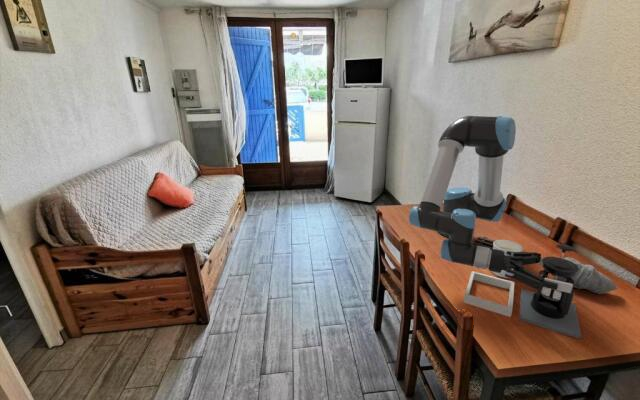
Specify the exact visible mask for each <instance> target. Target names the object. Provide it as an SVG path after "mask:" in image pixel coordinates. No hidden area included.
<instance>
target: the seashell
mask: <svg viewBox="0 0 640 400" xmlns="http://www.w3.org/2000/svg"><path fill="white" fill-rule="evenodd" d="M563 259H566V260H568V261H571V262H573V263H574V264H576V265H577V266H578V268H579V271H578V272H576V274H575V276H574V277H571V278H572V279H573V280H574V282H575V283H574V287H573V288H576V289H579V290H580V289H585V290H587V291H589V292H590V293H595V294H599V295H603V294H606V293H610V292H611V291H616V290H618V287H617V285H616V283H615V282H614V281H613V280H612V279H611V278H609V277H608V276H606V275H604V274H603V273H602V272H600V271H598V270H597V269H596V268H595V267H594V266H593V265H591V264H587V263H585V264H584V263H582V262H581V261H579V260H577V259H575V258H573V257H564V258H563ZM550 275H551V276H552V277H553V278H556V275H553V274H550ZM566 280H567V279H565V278H563V277H560V276H557V281H561V282H566ZM571 284H572V283H571Z"/></svg>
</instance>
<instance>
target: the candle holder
mask: <svg viewBox="0 0 640 400" xmlns="http://www.w3.org/2000/svg"><path fill="white" fill-rule="evenodd" d="M492 243H493V246H492V249H496V250H501V251H504V255H506V253H507V251H511V252H523V250H524V248H523V246H522V245H521V244H519V243H518V242H515V241H512V240H508V239H496V240H495V241H493V242H492ZM505 272H506V271H504V270H502V271H501V273H497V272H493V271H491V273H493V275H495V276H498V277H500V278H504V279H510V278H509V277H506V276H505Z"/></svg>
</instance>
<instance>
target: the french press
mask: <svg viewBox="0 0 640 400" xmlns="http://www.w3.org/2000/svg"><path fill="white" fill-rule="evenodd" d="M556 248H557V249H559V250H561V252H562V253H561V257H558V256H544V258H543V260H542V262H543V266H542V268H543V269H542V270H540V271H539V273H538V275H537V276H539V277H541V278H542V279H545V278H548V276H549V274H550V275H551V274H553V275H556V278H555V277H554V278H555V279H554V280H557V281H558V279H557V276H560V277H563V278H565V279H567V280H566V283H570V284H571V283H572V284H573V287H572V290H571V293H567V292H563V291H559V290H555V289H551V288H547V287H543V289H542V290H537V289H536V291H535V292H534V295H533V299H532V301H531V303H530V304H531V307H532V308H533V309H534V310H535V311H536V312H538V313H539V314H541V315H543V316H546V317H549V318H554V319H561V318H564V317H565V316H566V315H567V314H568V311H569V308H570V305H571V303H573V302H572V301H573V298H574V295H575V289H573V288H575V287H574V283H575V282H574V280H573V279H572V278H571V277H574V276H575V274H576V272H578V271H579V268H578V266H577V265H576V264H574V263H573V262H571V261H568V260H566V259H563V257H564V255H565V254H566V252H573V251H574V247H572V246H570V245H567V244H564V243H558V244H556ZM539 301H545V302H549V303H551V304H553V305H555V306H557V309H552V308H549V307H546V306H544V305H542V304H540V303H539Z"/></svg>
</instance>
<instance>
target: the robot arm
mask: <svg viewBox="0 0 640 400" xmlns="http://www.w3.org/2000/svg"><path fill="white" fill-rule="evenodd" d="M516 128H517V127H516V122H515V119H513V118H512V117H508V116H502V115H501V116H486V115H485V116H479V115H478V116H477V115H466V116H462V117H460V118H458V119H456V120H455V121H453V123H451V124H450V125H449V126H448V127H447V128H446V129H445V130H444V132H442V133H441V134H442V135H441V136H440V138H439V140H438V143H437V147H438V151H437V154H436V157H435V159H434V162H433V166H432V169H431V172H430V174H429V178H428V180H427V183H426V186H425V188H424V191H423V195H422V197H421V201H420V203H419V205H413V206H412V207H411V209H410V211H409V214H408V222H409V224H410V225H411V226H414V227H417V228H420V229H426V230H429V231H432V232H433V231H434V232H436V233H438V234H439V235H441V236H443V237H446V238H444V239H443V240H442V243H441V249H440V259H442V260H445V261H448V262H451V263H456V264H460V265H464V266H465V265H466V266H470V267H474V268H477V269H481V270H487V269H488V271H490V272H492V271H493V272H497V273H501V271H502V270H504V271H506V272H505V276H506V277H509V278H508V279H513V280H515V281H517V282H520V283H522V284H523V285H526V286H527V287H530V288H533V289H535V290H536V291H537V290H542V289H543V287H547V288H551V289H555V290H559V291H563V292H567V293H571V290H572V289H573V288H574V287H573V284H570V283H566V282H563V281H561V280H558V279H557V280H555V279H552V278H548V277H547V278H545V279H542V278H541V277H542V276H541V277H539V276H538V275H537V274H535V273H534V272H531V271H530V270H528V269H526V267H524V266H527V265H534V264H535V265H536V264H539V266H542V267H543V262H542V260H543V258H545V256H542V254H541V253H538V252H534V251H533V252H530V251H529V252H528V251H527V252H526V251H522V252H511V251H507V253H506V255H504V251H501V250H496V249H493V248H492V249H491V248H490V247H486V246H480V245H476V244H473V239H474V235H475V228H476V226H477V225H476V219H477V220H483V221H486V222H494V223H497V222H500V221H501V220H502V216H503V215H504V211H505V208H506V206H507V205H506V204H507V202H508V199H507V198H505V197H504V194H503V193H502V191H501V184H502V175H503V174H502V173H503V163H504V156H505V155H506V154H507V153H508V152H509V150H512V149H513V147H514V145H515V141H516V131H517V129H516ZM465 147H473V148H474V151H475V153H476V154H477V156H478V175H477V177H478V179H477V191H475V192H473V191H472V189H471V188H468V187H459V186H457V187H451V188H449V185H450V182H451V179H452V176H453V173H454V170H455V167H456V163H457V162H458V157H459V155H460V154H461V153H462V152H463V151H464V149H465ZM441 209H442V211H441ZM447 238H448V239H447ZM572 287H573V288H572Z"/></svg>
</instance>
